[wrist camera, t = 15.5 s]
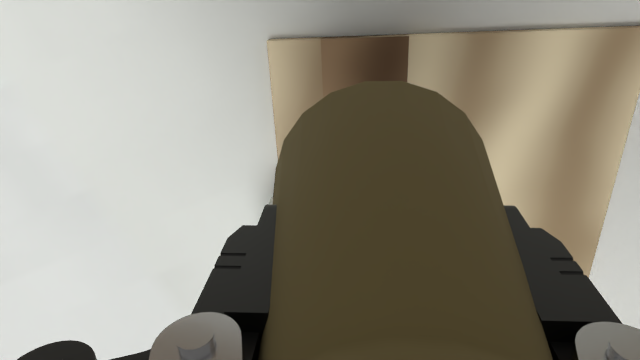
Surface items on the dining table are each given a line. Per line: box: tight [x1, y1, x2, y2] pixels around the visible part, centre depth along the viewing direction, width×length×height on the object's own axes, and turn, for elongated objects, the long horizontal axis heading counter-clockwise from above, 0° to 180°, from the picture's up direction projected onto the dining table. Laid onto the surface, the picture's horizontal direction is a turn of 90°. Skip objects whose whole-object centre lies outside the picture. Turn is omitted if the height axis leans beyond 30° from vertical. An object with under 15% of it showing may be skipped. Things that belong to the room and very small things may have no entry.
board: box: [267, 26, 640, 277], centre depth 23 cm, size 17×14×1 cm
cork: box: [258, 81, 553, 360], centre depth 8 cm, size 6×6×11 cm
